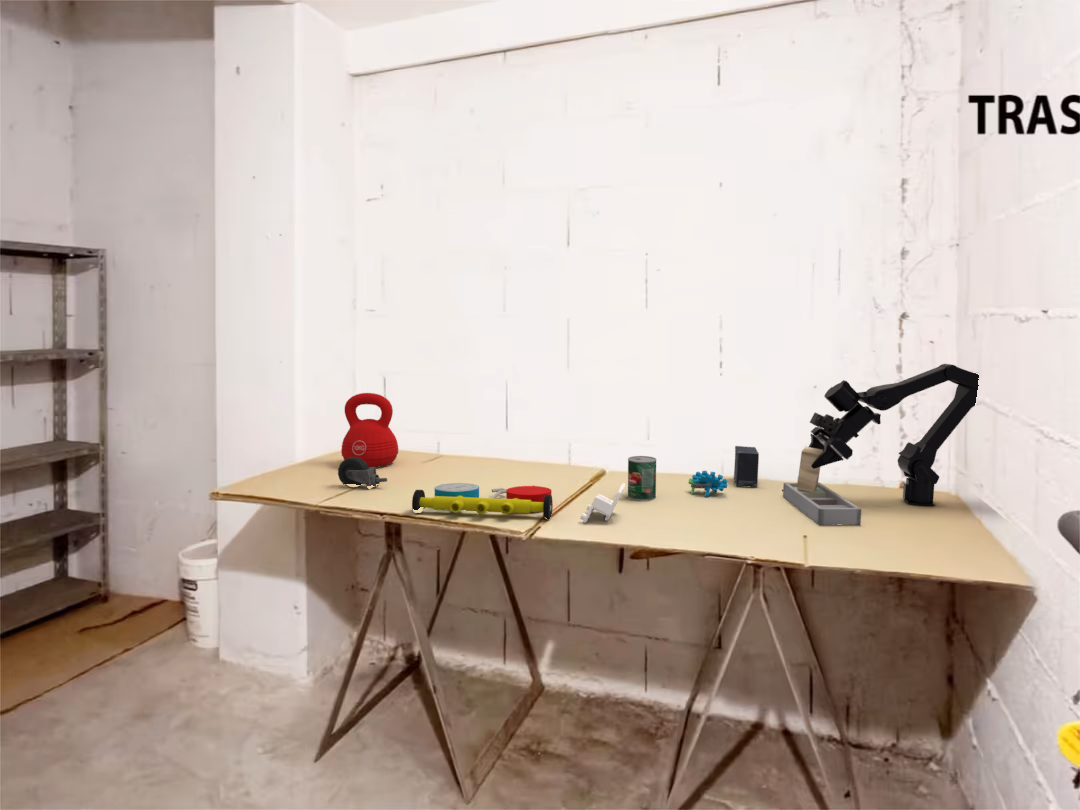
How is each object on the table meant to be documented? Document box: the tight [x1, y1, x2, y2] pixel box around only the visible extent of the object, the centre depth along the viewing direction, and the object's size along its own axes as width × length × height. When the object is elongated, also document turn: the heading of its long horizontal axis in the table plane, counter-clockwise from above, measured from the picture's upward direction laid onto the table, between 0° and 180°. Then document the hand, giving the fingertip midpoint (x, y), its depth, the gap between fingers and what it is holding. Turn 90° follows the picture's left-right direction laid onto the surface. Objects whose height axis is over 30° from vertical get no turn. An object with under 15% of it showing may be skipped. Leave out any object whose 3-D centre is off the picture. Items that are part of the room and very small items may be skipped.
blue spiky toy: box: [688, 470, 728, 498], centre depth 195 cm, size 11×6×10 cm
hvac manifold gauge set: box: [411, 482, 554, 520], centre depth 185 cm, size 36×6×25 cm
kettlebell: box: [341, 392, 399, 468], centre depth 236 cm, size 19×19×25 cm
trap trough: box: [782, 482, 862, 526], centre depth 180 cm, size 26×10×4 cm, turn 179°
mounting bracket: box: [579, 482, 627, 524], centre depth 174 cm, size 12×6×11 cm, turn 166°
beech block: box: [796, 446, 823, 493], centre depth 187 cm, size 4×4×11 cm
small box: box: [733, 445, 760, 488], centre depth 208 cm, size 11×6×10 cm, turn 168°
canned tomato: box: [627, 455, 657, 502], centre depth 193 cm, size 8×8×11 cm
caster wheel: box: [337, 457, 388, 487], centre depth 206 cm, size 6×10×15 cm
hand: (807, 463), depth 188 cm, fingers open, 9 cm apart
